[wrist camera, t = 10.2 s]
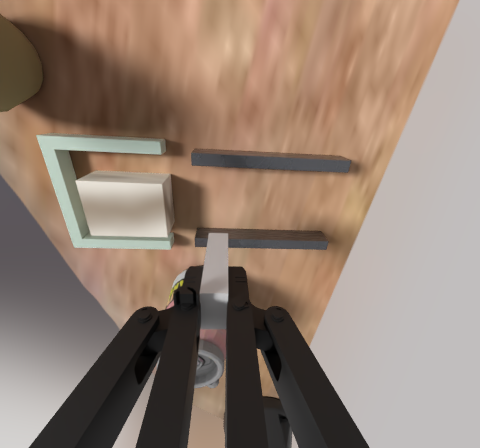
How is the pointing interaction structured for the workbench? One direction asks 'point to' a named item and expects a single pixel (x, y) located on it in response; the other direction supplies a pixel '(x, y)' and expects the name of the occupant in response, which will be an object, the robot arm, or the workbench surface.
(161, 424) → the robot arm
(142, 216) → the block
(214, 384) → the beverage can
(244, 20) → the workbench surface
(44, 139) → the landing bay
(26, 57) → the squeeze bottle
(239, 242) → the chute
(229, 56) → the workbench surface
